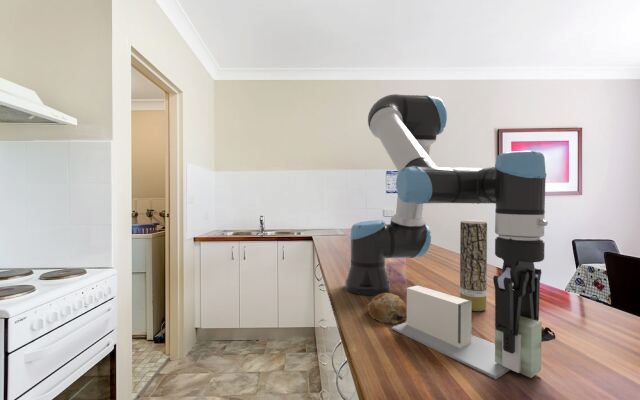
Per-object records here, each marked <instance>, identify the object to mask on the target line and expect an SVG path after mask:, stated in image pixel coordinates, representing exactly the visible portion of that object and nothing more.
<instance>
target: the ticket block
mask: <svg viewBox="0 0 640 400" xmlns="http://www.w3.org/2000/svg"><path fill="white" fill-rule="evenodd" d="M406 306H407V318H406V322H403V323H400V324H397V325H395V326H391V329H392V330H394V331H395V332H398V333H400V334H401V335H404V336H405V337H407V338H410V339H412V340H415V341H416V342H418V343H420V344H422V345H424V346H427V347H429V348H430V349H433V350H435V351H436V352H438V353H441V354H442V355H445V356H447V357H449V358H452V359H454V360H456V361H458V362H459V363H462V364H464V365H466V366H468V367H469V368H473V369H474V370H476V371H478V372H480V373H482V374H484V375H487V376H489V377H490V378H493V379H495V380H497V379H499V378H500V377H502V376H503V375H505V374H506V373H508V372H509V371H512V370H511V369H508V368H506V367H504V366H502V365H500V364H498V363H496V362H495V342H491V341H489V340H486V339H484V338H481V337H478V336H475V335H473V334H472V311H471V310H472V301H470V300H465V299H462V298H460V297H458V296H455V295H451V294H449V293H445V292H441V291H438V290H434V289H430V288H428V287H424V286H421V285H413V286H409V287H406Z"/></svg>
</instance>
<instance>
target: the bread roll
mask: <svg viewBox="0 0 640 400" xmlns="http://www.w3.org/2000/svg"><path fill="white" fill-rule="evenodd" d="M367 307H368V313H369V315H370V317H372V319H373V320H376V321H378V322H381V323H383V324H393V325H395V324H398V323H402V322H403V321H405V320H407V303H405V302H404V300H403V299H401V297H400V296H399V295H397V294H394V293H391V292H388V293H381V294H379V295H374V297H372V298H371V301H370V302H369V303H368V304H367Z"/></svg>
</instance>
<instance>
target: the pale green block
mask: <svg viewBox="0 0 640 400" xmlns="http://www.w3.org/2000/svg"><path fill="white" fill-rule="evenodd" d="M542 323H543V322H542V321H539V320H538V321H536V320H533V319H529V318H526V317H523V316H520V320H519V330H518V334H520V335H521V372H519V373H518V374H521V375H523V376H525V377H528V378H530V379H531V378H533V377H534V376H536V375H537V374H539V373H540V372H541V371H542V342H541V328H542V327H543V326H542ZM502 339H503V332H501V331H498V330H496V328H495V327H494V344H495V362H496V363H498V364H500V365H502Z"/></svg>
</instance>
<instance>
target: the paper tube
mask: <svg viewBox="0 0 640 400" xmlns="http://www.w3.org/2000/svg"><path fill="white" fill-rule="evenodd" d="M459 227H460V228H459V229H460V234H459V236H460V237H459V238H460V239H459V241H460V242H459V243H460V244H459V245H460V246H459V251H460V252H459V254H460V255H459V298H462V299H465V300H470V301H472V310H471V312H483V311H485V310H486V309H487V285H488V283H487V281H488V280H487V279H488V277H487V275H488V274H487V273H488V272H487V270H488V269H487V268H488V265H487V263H488V221H487V220H481V219H462V220H461V219H460V225H459Z"/></svg>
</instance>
